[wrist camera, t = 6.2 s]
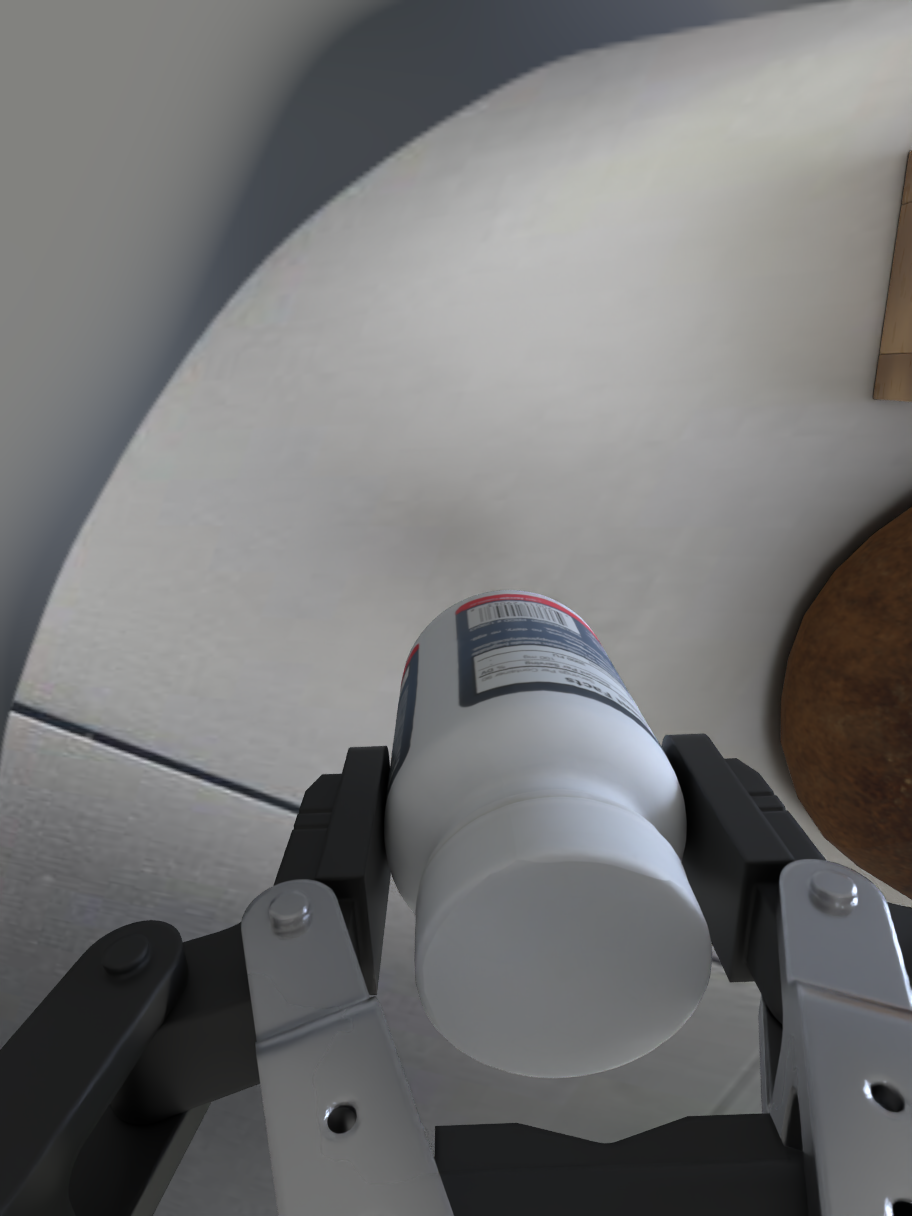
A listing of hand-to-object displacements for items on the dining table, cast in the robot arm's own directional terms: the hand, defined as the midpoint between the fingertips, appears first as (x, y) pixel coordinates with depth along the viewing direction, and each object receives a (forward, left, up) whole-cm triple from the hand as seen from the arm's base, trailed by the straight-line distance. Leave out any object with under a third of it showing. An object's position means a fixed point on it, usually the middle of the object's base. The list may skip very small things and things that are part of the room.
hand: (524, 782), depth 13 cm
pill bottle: (0, 0, -5) cm, 5 cm away
